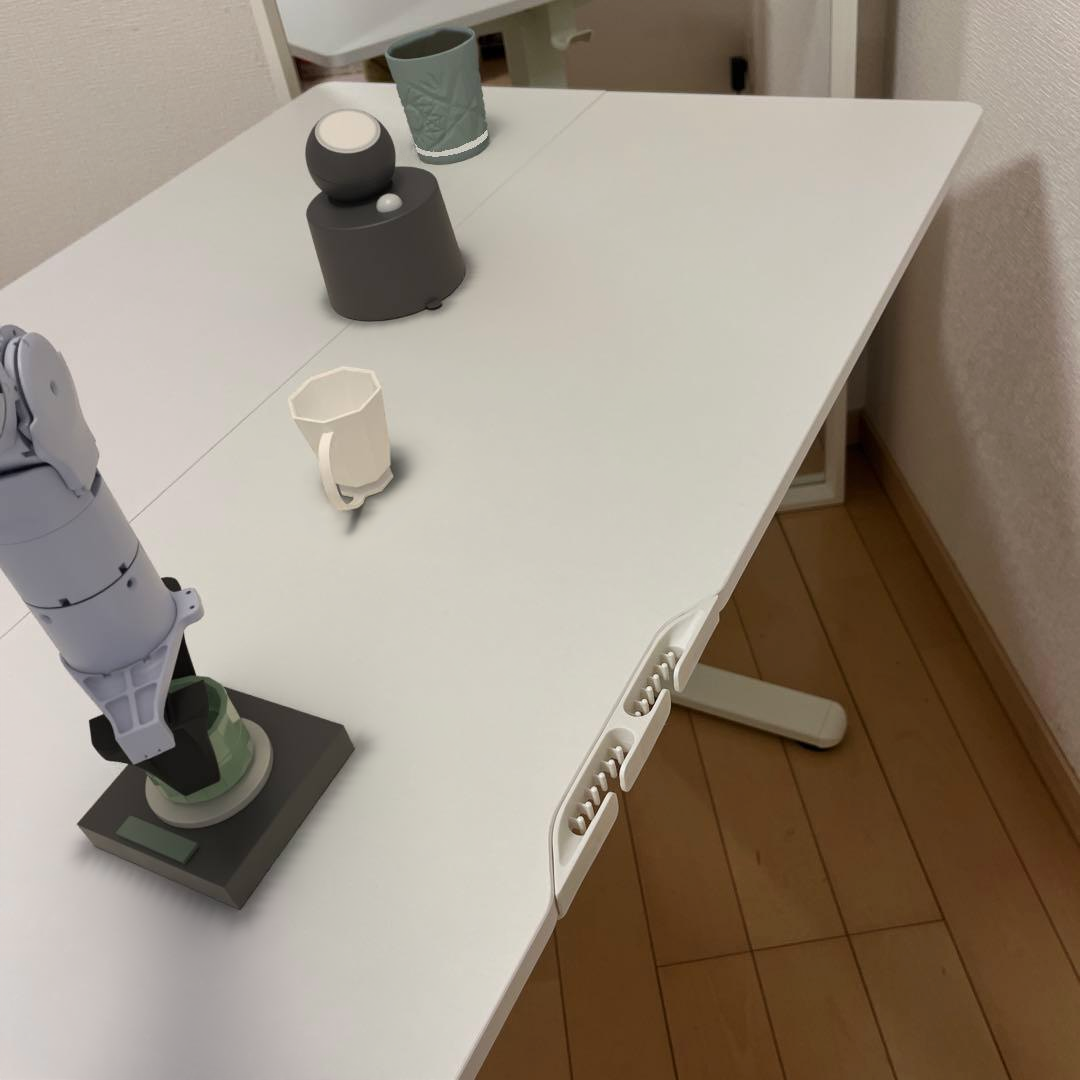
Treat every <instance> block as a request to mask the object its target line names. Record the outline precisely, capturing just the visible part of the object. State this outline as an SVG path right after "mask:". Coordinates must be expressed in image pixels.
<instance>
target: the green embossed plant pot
mask: <svg viewBox="0 0 1080 1080" xmlns="http://www.w3.org/2000/svg"><path fill="white" fill-rule="evenodd" d="M477 45H478V43H477V36H476V32H475V30H474V29H472V28H470V27H467V26H461V25H460V26H459V25H453V26H452V25H449V26H439V27H434V28H433V27H432V28H428V29H425V30H421V31H417V32H414V33H411V34H409V35H406V36H404V37H401V38H399V39H397V40H396V41H394V42H392V43H391V44H390V45H388V46H387V47H386V48H385V50H384V57H385V60H386V62H387V65H388V69H389V71H390V75H391V77H392V79H393V81H394V83H395V88H396V91H397V95H398V98H399V99H400V104H401V106H402V107H403V113H404V114H405V118H406V123H407V125H408V128H409V131H410V133H411V136H412V140H413V144H414V143H415V144H416V145H417V147H418V148H420V149H422V150H425V151H430V152H433V151H434V152H442V151H445V150H450V149H454V148H458V147H460V146H462V145H464V144H466V143H469V142H471V141H474V140H476V139H477V138H478V137H480V136H481V135H482V134H484V132H485V131H486V130H487V126H488V123H487V120H486V118H487V117H486V114H487V113H486V112H487V111H486V109H485V107H486V105H485V104H486V103H485V101H484V93H483V83H482V79H481V73H480V70H479V69H480V65H479V64H480V63H479V54H478V46H477ZM489 143H490V133H489V132H488V136H487V138H486V139H485V140H484V141H483V142H482V143H480V144H479V145H477V146H476V147H474V148H472V149H469V150H467V151H464V152H461V153H458V154H453V155H448V156H439V157H432V156H425V155H422V154H420V153H418V152H417V150H416V149H415V151H416V153H417V154H416V155H417V156H418V157H419V159H420V160H421V161H422V162H423V163H426V164H430V165H448V164H449V165H450V164H453V163H454V164H455V163H458V162H462V161H465V160H468V159H470V158H473V157H474V156H477V155H478V154H481V153H482V152H484V150H485V149H486V148H487V147H488V146H489ZM415 144H414V145H415Z"/></svg>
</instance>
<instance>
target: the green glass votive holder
mask: <svg viewBox="0 0 1080 1080" xmlns="http://www.w3.org/2000/svg"><path fill="white" fill-rule="evenodd" d="M203 679H204V682H205V686H206V690H207V694H208V698H209V719H208V725H207V732H208V735H209V738H210V741H211V743H212V746H213V749H214V752H215V755H216V758H217V762H218V766H219V771H220V778H221V780H220V781H219V782H217V783H215V784H213V785H211V786H208V787H206V788H204V789H202V790H199V791H197V792H195V793H193V794H190V795H188V796H184V795H182V794H180V793H179V792H177V791H175V790H174V789H173V788H171V787H170V786H168V785H167V784H165V783H164V782H163V781H161V780H160V779H158V778H157V777H155V776H154V775H152V774H151V773H149V772H147V771H145V770H144V771H145V773H146V774H147V775H148V777H149V778H150V780H151V781H152V783H153V784H154V785H155V787H156V788H157V790H158V791H159V793H160V794H162V795H163V796H164V797H166V798H167V799H169V800H170V801H173V802H179V803H186V804H190V803H191V804H192V803H200V802H205V801H208V800H211V799H214V798H216V797H218V796H220V795H222V794H224V793H225V792H227V791H228V790H229V789H231V788H232V787H233V786H234V785H235V784H236V783H237V782H238V781H239V780H240V779H241V777H242V776H243V775H244V773H245V771H246V769H247V767H248V765H249V763H250V761H251V759H252V757H253V744H254V742H253V739H252V737H251V735H250V733H249V731H248V729H247V727H246V725H245V724H244V722H243V720H242V718H241V717H240V715H239V713H238V711H237V710H236V708H235V706H234V704H233V703H232V701H231V699H230V697H229V696H228V694H227V692H226V691H225V689H224V687H225V686H224V685H223V684H222V683H220V682H219V681H217V680H216V679H213V678H212V677H210V676H203V675H196V676H193V675H192V676H187V677H183V678H178V679H174V680H171V682H170V686H169V690H168V691H169V693H172V692H175V691H177V690H179V689H182V688H184V687H186V686H189V685H191V684H193V683H196V682H198V681H200V680H203ZM223 686H224V687H223Z"/></svg>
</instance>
